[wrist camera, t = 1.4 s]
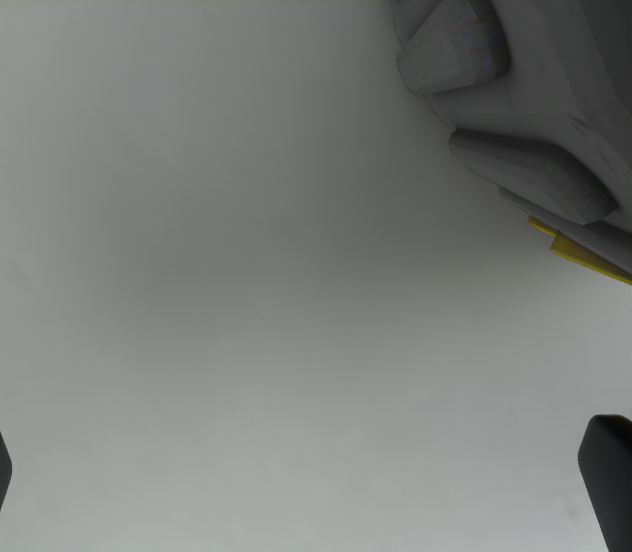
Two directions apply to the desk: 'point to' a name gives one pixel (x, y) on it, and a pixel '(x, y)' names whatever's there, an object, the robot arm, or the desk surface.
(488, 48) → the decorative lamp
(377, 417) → the desk surface
